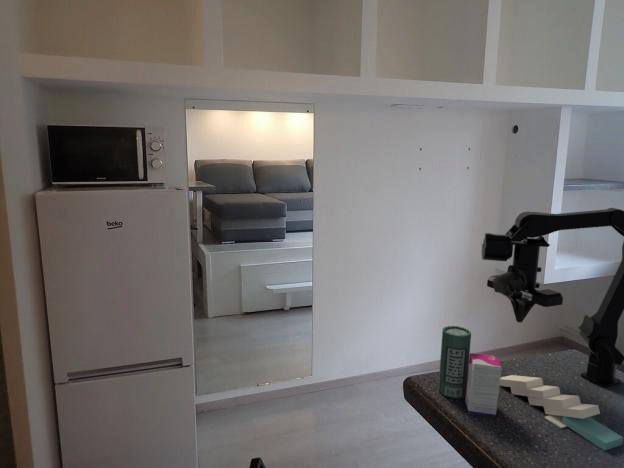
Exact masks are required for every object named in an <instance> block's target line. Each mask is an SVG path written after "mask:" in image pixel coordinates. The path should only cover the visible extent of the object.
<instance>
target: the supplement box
mask: <svg viewBox="0 0 624 468" xmlns="http://www.w3.org/2000/svg"><path fill="white" fill-rule="evenodd" d="M501 375H502V365H501V364H500V361H499V359H498V358H497V356H496V355H490V354H488V355H487V354H482V353H481V354H479V353H473V352H472V353H470V354H469V366H468V378H467V387H466V395H465V397H464V402H465V405H466V411H467V414H471V415H479V416H486V417H495V418H496V417H497V412H498V411H497V410H498V401H499V391H500V386H499V385H500V378H501Z"/></svg>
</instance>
